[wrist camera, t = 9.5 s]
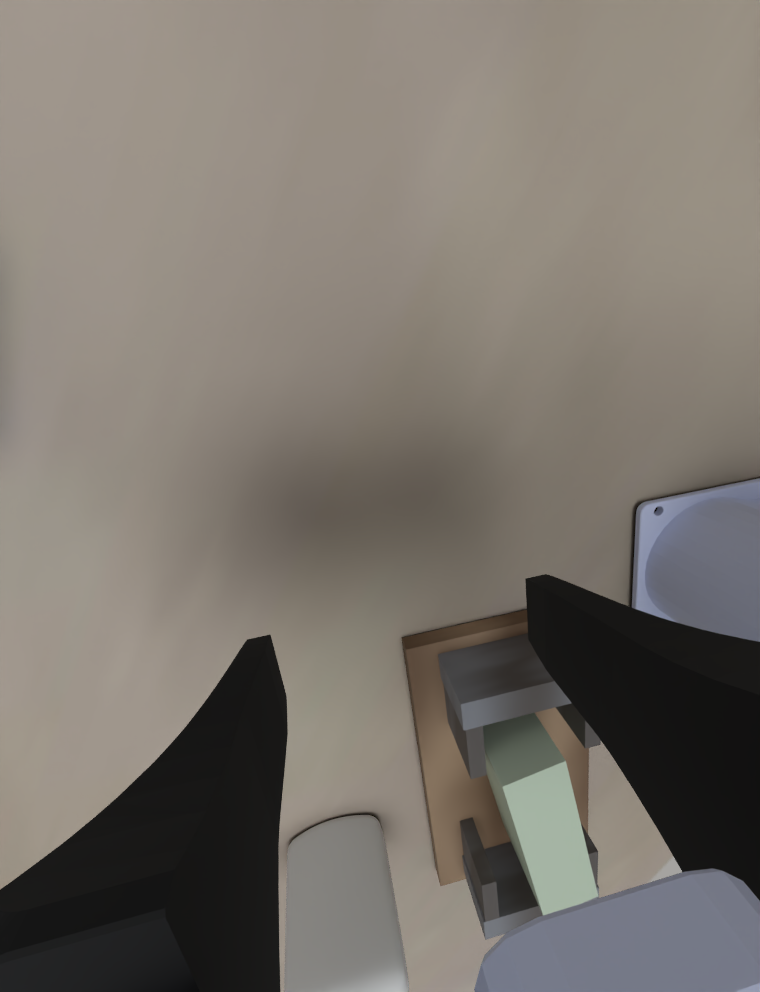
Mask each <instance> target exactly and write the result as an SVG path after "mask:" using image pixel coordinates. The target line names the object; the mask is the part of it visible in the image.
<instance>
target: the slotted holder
mask: <svg viewBox="0 0 760 992" xmlns="http://www.w3.org/2000/svg"><path fill="white" fill-rule="evenodd" d="M402 644H403V650H404V657H405V664H406V671H407V677H408V684H409V691H410V697H411V704H412V711H413V717H414V724H415V731H416V737H417V744H418V751H419V757H420V764H421V771H422V778H423V784H424V791H425V798H426V804H427V811H428V818H429V824H430V831H431V838H432V844H433V851H434V858H435V864H436V870H437V874H438V878H439V882H440V885H441V886H443V885H446V884H450V883H453V882H457V881H460V880H463V879H467V882H468V886H469V889H470V892H471V895H472V898H473V902H474V905H475V908H476V911H477V914H478V917H479V921H480V924H481V927H482V930H483V933H484V936H485V940H486V939H489V938H492V937H496V936H499V935H502V934H505V933H507V932H509V931H511V930H513V929H515V928H517V927H519V926H521V925H523V924H525V923H527V922H529V921H531V920H533V919H535V918H537V917H540V916H543V915H542V912H541V910H540V908H539V905H538V903H537V901H536V898H535V896H534V894H533V891H532V889H531V887H530V884H529V882H528V880H527V878H526V875H525V873H524V871H523V868H522V866H521V864H520V861H519V859H518V857H517V854H516V852H515V850H514V847H513V845H512V843H511V840H510V838H509V836H508V833H507V831H506V829H505V826H504V824H503V821H502V818H501V815H500V812H499V809H498V806H497V803H496V800H495V797H494V794H493V791H492V788H491V785H490V782H489V779H488V776H487V769H486V758H485V746H484V735H483V726H484V725H488V724H492V723H496V722H500V721H504V720H508V719H512V718H516V717H520V716H523V715H527V714H531V713H535V714H536V716H537V717H538V719H539V720H540V722H541V723H542V725H543V727H544V728H545V730H546V731H547V733H548V734H549V736H550V737H551V739H552V740H553V742H554V743H555V745H556V747H557V748H558V750H559V751H560V753H561V754H562V756H563V757H564V759H565V760H566V764H567V768H568V772H569V776H570V780H571V785H572V789H573V793H574V797H575V801H576V805H577V810H578V814H579V818H580V822H581V826H582V830H583V834H584V839H585V843H586V847H587V851H588V855H589V859H590V864H591V868H592V872H593V876H594V880H595V884H596V889H597V893H598V897H596V898H593V899H591V900H589V901H592V900H595V899H598V898H599V887H598V885H597V872H598V851H597V849H596V847H595V846H594V844H593V842H592V840H591V839H590V837H589V835H588V769H589V748H590V747H593V746H597V745H600V738H599V737H598V736H597V734H596V733H595V732H594V731H593V729H592V728H591V727H590V726H589V724H588V723H587V722H586V720H585V719H584V718H583V717H582V715H581V714H580V713H579V712H578V710H577V709H576V708H575V706H574V705H573V704H572V703H571V701H570V700H569V699H568V698H567V696H566V695H565V694H564V693H563V691H562V690H561V689H560V687H559V686H558V685H557V683H556V682H555V681H554V680H553V678H552V677H551V676H550V674H549V673H548V672H547V670H546V669H545V667H544V666H543V664H542V662H541V661H540V659H539V657H538V656H537V654H536V652H535V650H534V649H533V647H532V645H531V643H530V642H529V640H528V622H527V610H522V611H518V612H513V613H509V614H505V615H500V616H496V617H491V618H487V619H483V620H478V621H474V622H469V623H465V624H461V625H456V626H452V627H447V628H443V629H439V630H434V631H430V632H425V633H421V634H417V635H412V636H408V637H404V638H402ZM586 902H588V901H586ZM584 903H585V902H584Z"/></svg>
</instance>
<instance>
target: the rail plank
mask: <svg viewBox="0 0 760 992" xmlns="http://www.w3.org/2000/svg"><path fill="white" fill-rule="evenodd" d="M483 735H484V746H485V758H486V769H487V776H488V779H489V782H490V785H491V788H492V791H493V794H494V797H495V800H496V803H497V806H498V809H499V812H500V815H501V818H502V821H503V824H504V826H505V829H506V831H507V833H508V836H509V838H510V840H511V843H512V845H513V847H514V850H515V852H516V854H517V857H518V859H519V861H520V864H521V866H522V868H523V871H524V873H525V875H526V878H527V880H528V882H529V884H530V887H531V889H532V891H533V894H534V896H535V898H536V901H537V903H538V905H539V908H540V910H541V912H542V915H547V914H550V913H553V912H556V911H559V910H563V909H566V908H569V907H572V906H576V905H579V904H582V903H584V902H586V901H589V900H591V899H593V898H596V897H598V893H597V889H596V884H595V880H594V876H593V872H592V868H591V864H590V859H589V855H588V851H587V847H586V843H585V839H584V834H583V830H582V826H581V822H580V818H579V814H578V810H577V805H576V801H575V797H574V793H573V789H572V785H571V780H570V776H569V772H568V768H567V764H566V760H565V759H564V757H563V756H562V754H561V753H560V751H559V750H558V748H557V747H556V745H555V743H554V742H553V740H552V739H551V737H550V736H549V734H548V733H547V731H546V730H545V728H544V727H543V725H542V723H541V722H540V720H539V719H538V717H537V716H536V714H535V713H531V714H527V715H523V716H520V717H516V718H512V719H508V720H504V721H500V722H496V723H492V724H488V725H484V726H483Z"/></svg>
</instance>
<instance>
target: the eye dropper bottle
mask: <svg viewBox="0 0 760 992" xmlns="http://www.w3.org/2000/svg"><path fill="white" fill-rule="evenodd" d="M284 992H409V981H408V973H407V967H406V961H405V954H404V948H403V942H402V936H401V931H400V925H399V919H398V913H397V907H396V901H395V895H394V890H393V884H392V878H391V872H390V867H389V861H388V855H387V849H386V844H385V839H384V835H383V831H382V828H381V825H380V823H379V821H378V820H377V819H376V818H375V817H374V816H371V815H353V816H346V817H340V818H336V819H332V820H329V821H326V822H323V823H321V824H319V825H316V826H314V827H312V828H310V829H309V830H307V831H305V832H304V833H302V834H300V835H299V836H297V837H296V838H295V839H294V840H293V841H292V842H291V843H290V845H289V847H288V853H287V887H286V928H285V977H284Z"/></svg>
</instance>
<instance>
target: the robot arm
mask: <svg viewBox="0 0 760 992" xmlns="http://www.w3.org/2000/svg"><path fill="white" fill-rule="evenodd" d="M656 507H658V508H657V511H656V512H655V513H654V510H655V509H656ZM526 598H527V622H528V640H529V642H530V643H531V645H532V647H533V649H534V650H535V652H536V654H537V656H538V657H539V659H540V661H541V662H542V664H543V666H544V667H545V669H546V670H547V672H548V673H549V674H550V676H551V677H552V678H553V680H554V681H555V682H556V683H557V685H558V686H559V687H560V689H561V690H562V691H563V693H564V694H565V695H566V696H567V698H568V699H569V700H570V701H571V703H572V704H573V705H574V706H575V708H576V709H577V710H578V712H579V713H580V714H581V715H582V717H583V718H584V719H585V720H586V722H587V723H588V724H589V726H590V727H591V728H592V729H593V731H594V732H595V733H596V734H597V736H598V737H599V738H600V740H601V741H602V742H603V744H604V745H605V747H606V748H607V749H608V751H609V752H610V754H611V755H612V757H613V758H614V760H615V761H616V763H617V764H618V766H619V767H620V769H621V771H622V772H623V774H624V775H625V777H626V778H627V780H628V781H629V783H630V785H631V786H632V788H633V789H634V791H635V793H636V794H637V796H638V797H639V799H640V801H641V802H642V804H643V806H644V807H645V809H646V811H647V812H648V814H649V815H650V817H651V819H652V820H653V822H654V824H655V825H656V827H657V829H658V830H659V832H660V834H661V835H662V837H663V839H664V841H665V842H666V844H667V846H668V847H669V849H670V851H671V853H672V854H673V856H674V858H675V860H676V861H677V863H678V865H679V866H680V868H681V870H682V873H679V874H676V875H673V876H669V877H666V878H663V879H659V880H656V881H653V882H650V883H647V884H643V885H640V886H637V887H634V888H630V889H627V890H624V891H621V892H617V893H614V894H611V895H608V896H605V897H601V898H598V899H595V900H592V901H588V902H585V903H582V904H579V905H576V906H572V907H569V908H566V909H563V910H559V911H556V912H553V913H550V914H547V915H543V916H540V917H537V918H535V919H533V920H531V921H529V922H527V923H525V924H523V925H521V926H519V927H517V928H515V929H513V930H511V931H509V932H507V933H506V934H505V935H504V936H503V937H502V938H501V939H500V940H499V941H498V942H497V943H496V944H495V945H494V946H493V947H492V948H491V949H490V950H489V951H488V952H487V953H486V954H485V956H484V959H483V961H482V964H481V967H480V971H479V974H478V978H477V982H476V985H475V989H474V990H475V992H760V478H758V479H753V480H749V481H744V482H739V483H734V484H729V485H724V486H719V487H714V488H710V489H705V490H700V491H695V492H690V493H685V494H680V495H676V496H671V497H666V498H661V499H656V500H651V501H646V502H643V503H642V504H640V505H639V507H638V508H637V511H636V527H635V549H634V570H633V592H632V608H631V607H629V606H626V605H623V604H621V603H618V602H615V601H613V600H610V599H608V598H605V597H603V596H600V595H598V594H595V593H593V592H590V591H588V590H586V589H583V588H581V587H578V586H576V585H573V584H571V583H569V582H566V581H564V580H561V579H558V578H556V577H553V576H550V575H547V574H545V575H540V576H536V577H531V578H527V579H526ZM286 745H287V699H286V693H285V689H284V685H283V681H282V678H281V674H280V670H279V666H278V662H277V658H276V655H275V651H274V647H273V643H272V639H271V635H267V636H262V637H257V638H253V639H248V640H247V641H246V642H245V644H244V645H243V646H242V648H241V649H240V651H239V652H238V654H237V656H236V657H235V659H234V660H233V662H232V663H231V665H230V666H229V668H228V669H227V671H226V672H225V674H224V676H223V677H222V678H221V680H220V681H219V683H218V684H217V686H216V687H215V689H214V690H213V691H212V693H211V694H210V696H209V697H208V699H207V700H206V701H205V703H204V704H203V705H202V707H201V708H200V709H199V710H198V712H197V713H196V714H195V716H194V717H193V718H192V720H191V721H190V722H189V723H188V725H187V726H186V727H185V728H184V730H183V731H182V732H181V733H180V734H179V735H178V737H177V738H176V739H175V740H174V741H173V742H172V743H171V744H170V745H169V747H168V748H167V749H166V750H165V751H164V752H163V753H162V754H161V755H160V756H159V757H158V759H157V760H156V761H155V762H154V763H153V764H152V765H151V766H150V767H149V768H148V769H147V770H146V771H144V772H143V773H142V774H141V775H140V776H139V777H138V778H137V779H136V780H135V781H134V782H133V783H132V784H131V785H130V786H129V787H128V788H127V789H126V790H125V791H124V792H123V793H122V794H121V795H120V796H118V797H117V798H116V799H115V800H114V801H113V802H112V803H111V804H110V805H108V806H107V807H106V808H105V809H104V810H103V811H101V812H100V813H99V814H98V815H97V816H96V817H95V818H93V819H92V820H91V821H90V822H89V823H87V824H86V825H85V826H84V827H82V828H81V829H80V830H79V831H78V832H76V833H75V834H74V835H73V836H72V837H70V838H69V839H68V840H66V841H65V842H64V843H63V844H61V845H60V846H59V847H58V848H56V849H55V850H54V851H52V852H51V853H50V854H48V855H47V856H46V857H44V858H43V859H42V860H40V861H39V862H37V863H36V864H35V865H33V866H32V867H31V868H29V869H28V870H27V871H25V872H24V873H23V874H21V875H20V876H19V877H17V878H16V879H15V880H13V881H12V882H11V883H9V884H8V885H6V886H5V887H3V888H2V889H1V890H0V992H280V962H279V896H278V842H279V823H280V812H281V801H282V790H283V779H284V768H285V757H286Z"/></svg>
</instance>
